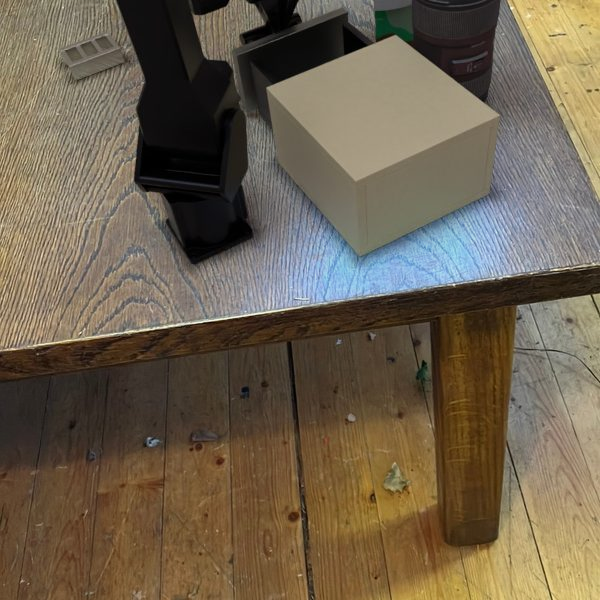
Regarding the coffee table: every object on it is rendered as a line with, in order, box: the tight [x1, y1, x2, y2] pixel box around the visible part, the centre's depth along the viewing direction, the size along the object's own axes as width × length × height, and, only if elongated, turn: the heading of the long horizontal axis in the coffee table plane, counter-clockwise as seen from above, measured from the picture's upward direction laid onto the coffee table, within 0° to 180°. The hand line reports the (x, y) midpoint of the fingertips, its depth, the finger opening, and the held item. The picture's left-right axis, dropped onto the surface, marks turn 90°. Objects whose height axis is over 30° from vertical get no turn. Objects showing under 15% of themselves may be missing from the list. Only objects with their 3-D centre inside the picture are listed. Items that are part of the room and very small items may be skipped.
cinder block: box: [58, 30, 126, 82], centre depth 89 cm, size 6×5×2 cm
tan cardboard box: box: [266, 35, 501, 258], centre depth 67 cm, size 16×14×9 cm
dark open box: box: [231, 7, 376, 131], centre depth 75 cm, size 20×13×7 cm, turn 29°
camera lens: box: [412, 0, 501, 104], centre depth 71 cm, size 8×8×15 cm
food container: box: [373, 0, 413, 48], centre depth 81 cm, size 12×6×10 cm, turn 168°
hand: (278, 39), depth 79 cm, fingers closed, pressing on dark open box
